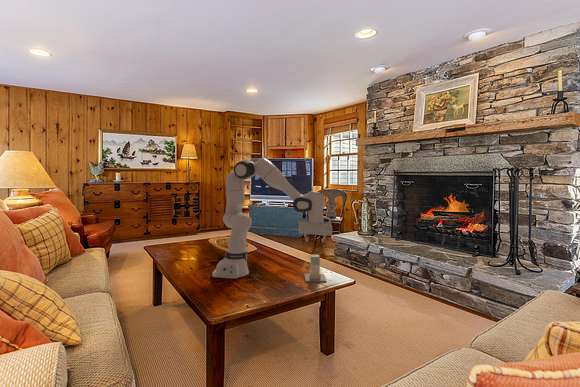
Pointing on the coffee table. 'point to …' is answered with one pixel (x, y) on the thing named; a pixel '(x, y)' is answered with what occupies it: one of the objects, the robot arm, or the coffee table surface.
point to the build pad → (307, 278)
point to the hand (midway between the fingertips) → (314, 241)
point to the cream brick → (315, 269)
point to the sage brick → (315, 260)
